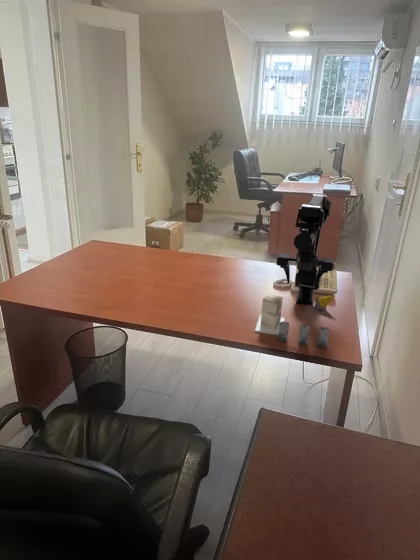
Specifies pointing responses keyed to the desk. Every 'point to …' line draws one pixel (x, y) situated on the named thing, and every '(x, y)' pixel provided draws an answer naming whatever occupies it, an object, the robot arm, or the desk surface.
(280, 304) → the birch block
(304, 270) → the robot arm
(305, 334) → the cylinder
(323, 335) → the block
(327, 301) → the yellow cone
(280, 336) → the steel spacer
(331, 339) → the desk surface
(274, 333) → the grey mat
